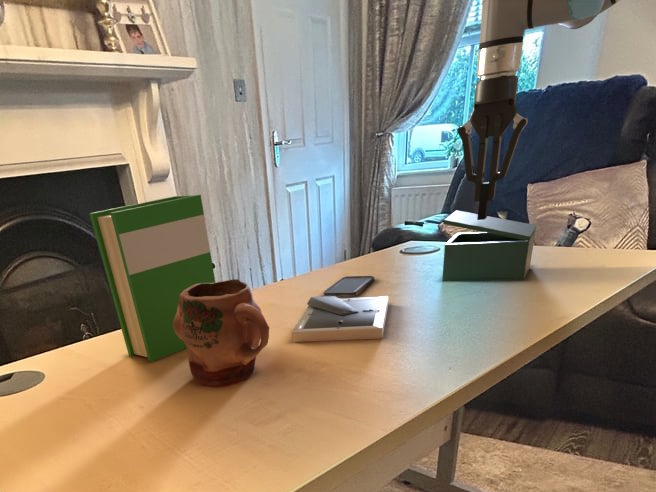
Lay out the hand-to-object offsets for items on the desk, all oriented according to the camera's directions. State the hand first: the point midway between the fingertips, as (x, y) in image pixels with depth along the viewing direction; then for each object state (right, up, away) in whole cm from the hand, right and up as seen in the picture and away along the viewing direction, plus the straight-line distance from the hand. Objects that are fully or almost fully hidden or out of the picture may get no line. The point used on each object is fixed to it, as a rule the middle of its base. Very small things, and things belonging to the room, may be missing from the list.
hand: (482, 218), depth 113 cm
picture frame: (-31, -27, -11) cm, 43 cm away
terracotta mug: (-51, -42, -28) cm, 72 cm away
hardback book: (-63, -31, -11) cm, 71 cm away
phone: (-27, -11, +9) cm, 31 cm away
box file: (+3, -10, +6) cm, 12 cm away
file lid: (+2, -2, 0) cm, 2 cm away
